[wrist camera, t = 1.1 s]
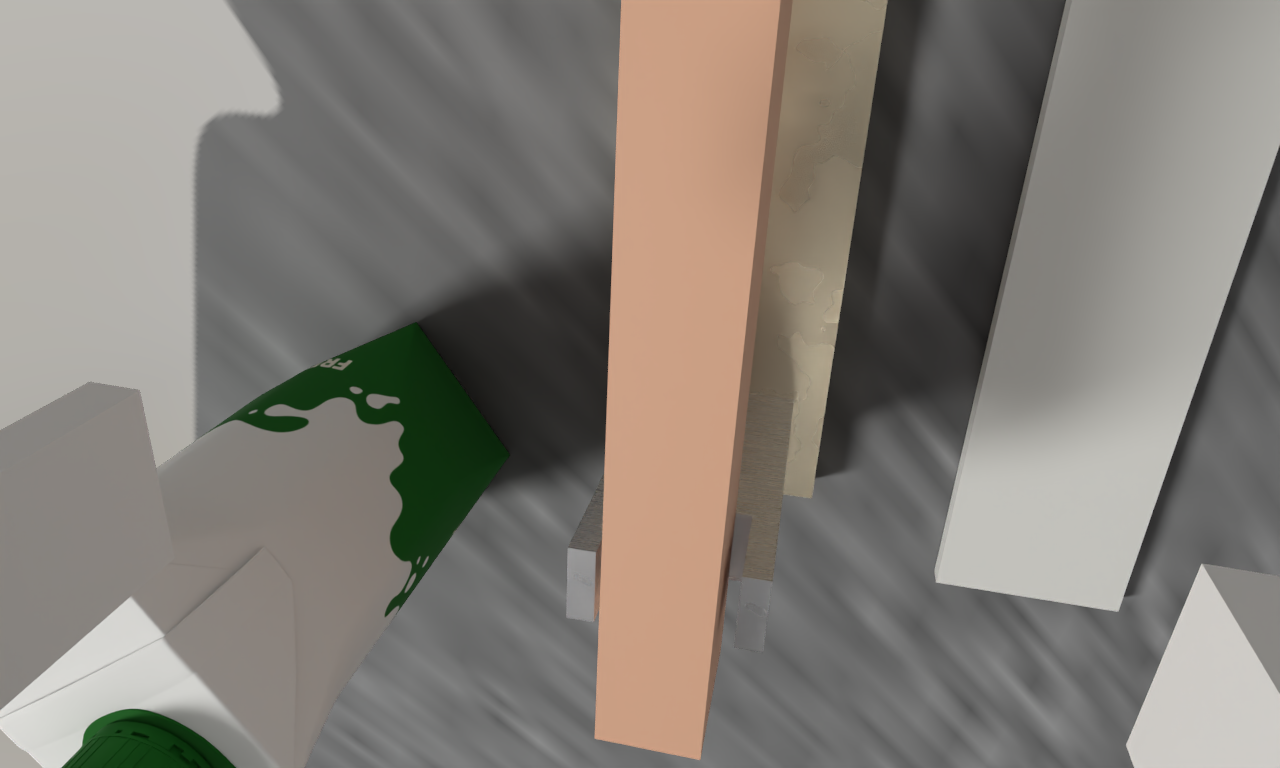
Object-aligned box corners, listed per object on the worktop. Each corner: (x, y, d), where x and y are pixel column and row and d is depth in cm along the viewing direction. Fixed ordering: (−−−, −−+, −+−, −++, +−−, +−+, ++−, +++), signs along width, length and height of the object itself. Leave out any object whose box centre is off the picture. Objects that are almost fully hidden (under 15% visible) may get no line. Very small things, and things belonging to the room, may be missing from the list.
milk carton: (395, 532, 42) (67, 932, 24) (277, 378, 40) (-180, 694, 22) (539, 462, 39) (280, 866, 21) (418, 289, 37) (15, 578, 19)
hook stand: (812, 479, 36) (798, 710, 25) (624, 451, 38) (526, 658, 26) (917, -213, 26) (976, -370, 15) (654, -217, 28) (518, -364, 16)
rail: (720, 650, 28) (700, 759, 24) (629, 633, 29) (594, 738, 25) (834, -378, 17) (832, -487, 13) (684, -375, 18) (638, -480, 14)
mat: (1112, 599, 36) (1118, 611, 35) (934, 570, 37) (936, 582, 36) (1379, -184, 24) (1394, -189, 24) (1109, -189, 26) (1117, -194, 25)
